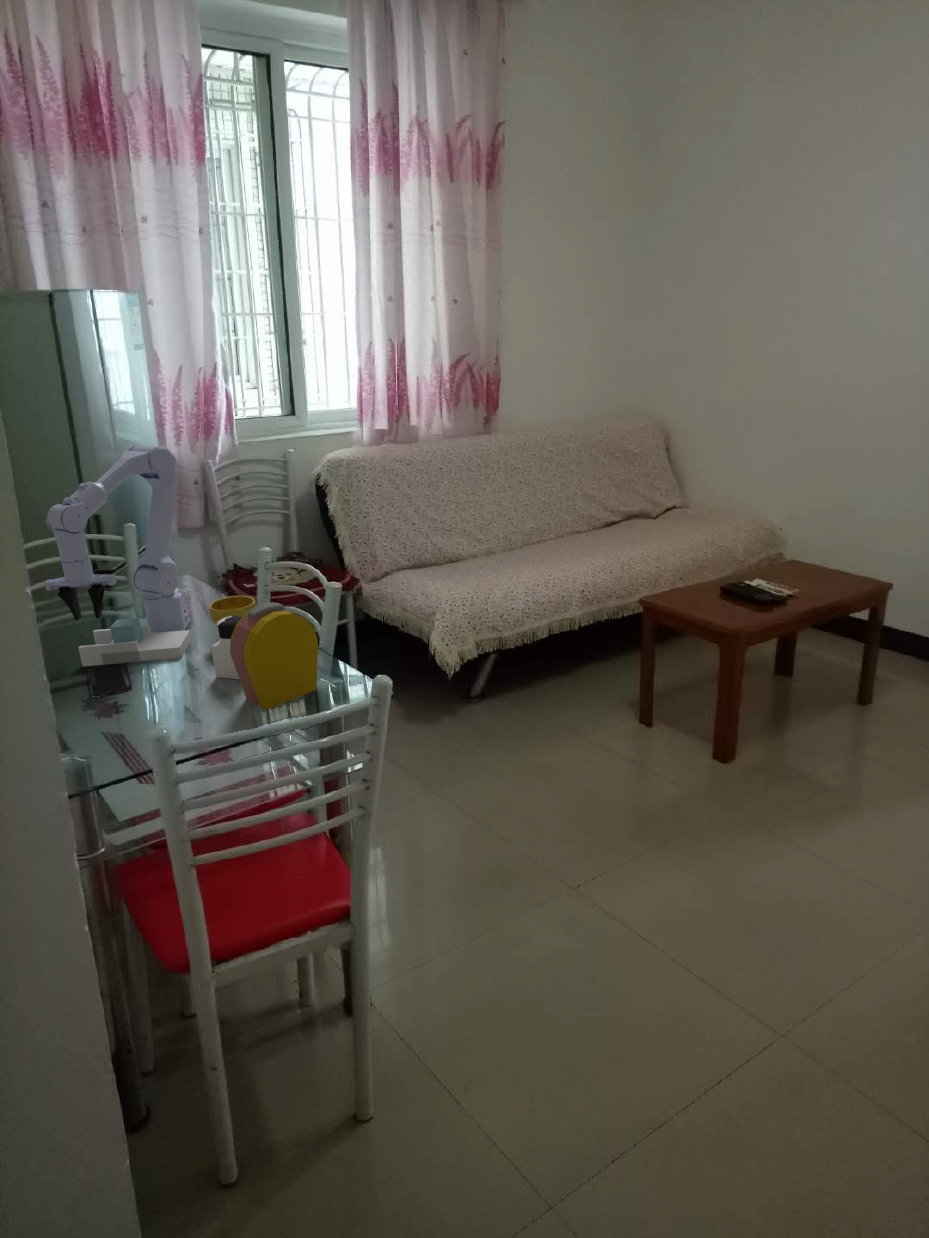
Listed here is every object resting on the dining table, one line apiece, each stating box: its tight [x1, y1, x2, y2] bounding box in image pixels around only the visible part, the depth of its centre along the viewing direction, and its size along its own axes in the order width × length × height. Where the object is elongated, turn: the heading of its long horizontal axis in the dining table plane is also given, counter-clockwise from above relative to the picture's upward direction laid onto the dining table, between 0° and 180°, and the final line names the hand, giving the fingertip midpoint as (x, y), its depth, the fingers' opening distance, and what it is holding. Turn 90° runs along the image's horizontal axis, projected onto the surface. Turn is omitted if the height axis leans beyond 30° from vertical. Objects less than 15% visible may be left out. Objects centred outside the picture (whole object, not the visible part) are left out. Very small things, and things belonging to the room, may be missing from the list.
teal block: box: [109, 617, 143, 644], centre depth 190 cm, size 5×5×5 cm
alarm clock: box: [230, 601, 319, 711], centre depth 164 cm, size 15×8×18 cm, turn 133°
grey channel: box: [78, 624, 193, 668], centre depth 192 cm, size 22×11×4 cm, turn 95°
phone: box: [87, 663, 133, 697], centre depth 178 cm, size 8×1×15 cm
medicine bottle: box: [210, 616, 242, 680], centre depth 176 cm, size 7×7×12 cm
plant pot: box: [208, 595, 257, 628], centre depth 193 cm, size 10×10×10 cm
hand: (88, 617), depth 188 cm, fingers open, 4 cm apart
